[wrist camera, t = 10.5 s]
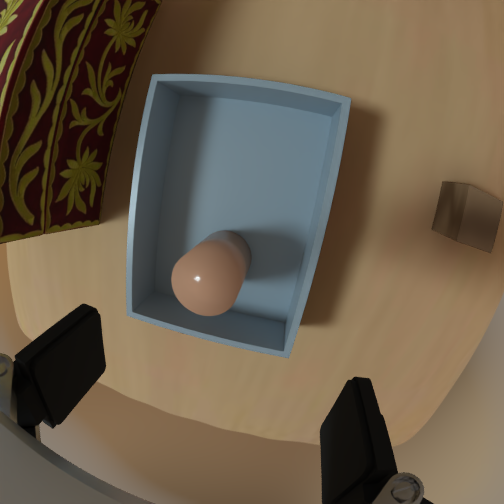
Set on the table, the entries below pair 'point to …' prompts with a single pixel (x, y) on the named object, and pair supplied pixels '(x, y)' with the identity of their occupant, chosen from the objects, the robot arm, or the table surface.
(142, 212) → the tote
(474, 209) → the walnut block
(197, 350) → the table surface
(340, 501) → the robot arm
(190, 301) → the canister
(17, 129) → the decorative box
